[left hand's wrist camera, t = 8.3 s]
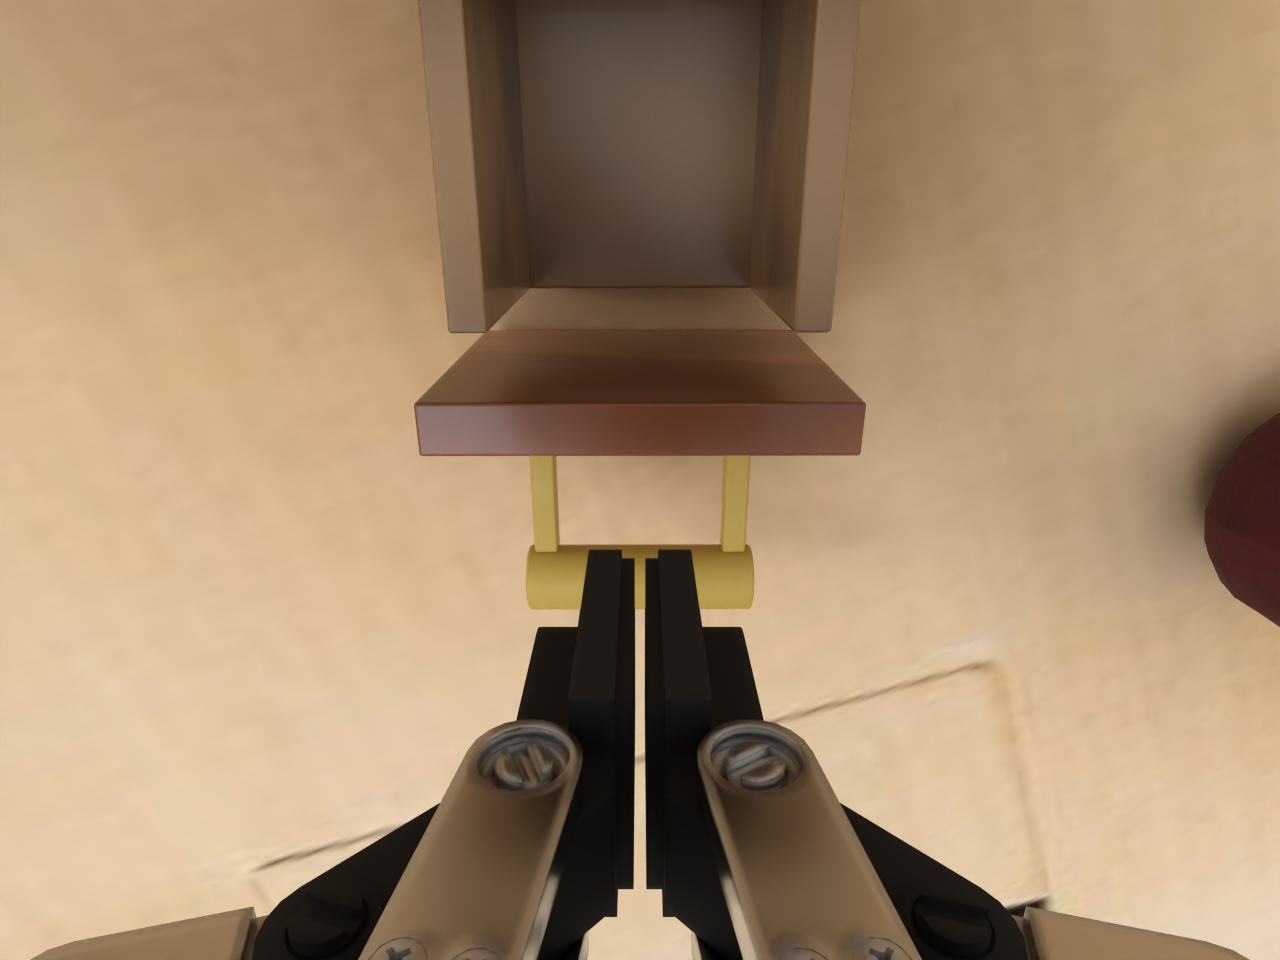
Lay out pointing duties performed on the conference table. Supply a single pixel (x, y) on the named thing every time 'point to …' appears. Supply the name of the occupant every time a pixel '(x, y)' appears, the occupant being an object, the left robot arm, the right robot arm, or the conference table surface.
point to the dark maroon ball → (1249, 522)
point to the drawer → (639, 243)
